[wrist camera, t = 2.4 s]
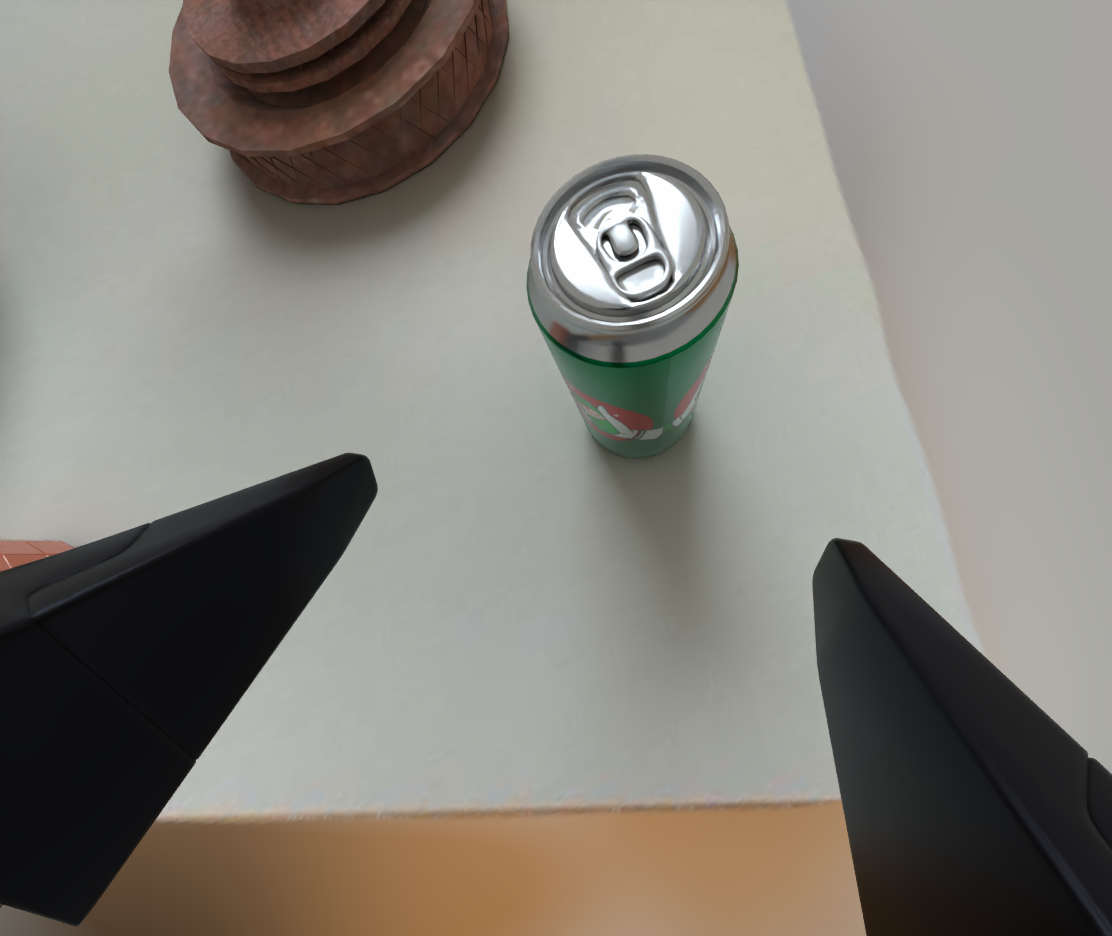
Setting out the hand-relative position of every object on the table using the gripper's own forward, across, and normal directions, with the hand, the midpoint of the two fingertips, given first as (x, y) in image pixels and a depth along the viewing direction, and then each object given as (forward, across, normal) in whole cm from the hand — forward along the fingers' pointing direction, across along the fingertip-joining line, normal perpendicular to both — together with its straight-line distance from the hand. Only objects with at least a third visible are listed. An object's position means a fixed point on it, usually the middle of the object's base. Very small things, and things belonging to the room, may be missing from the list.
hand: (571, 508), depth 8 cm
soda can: (+13, 0, +5) cm, 14 cm away
